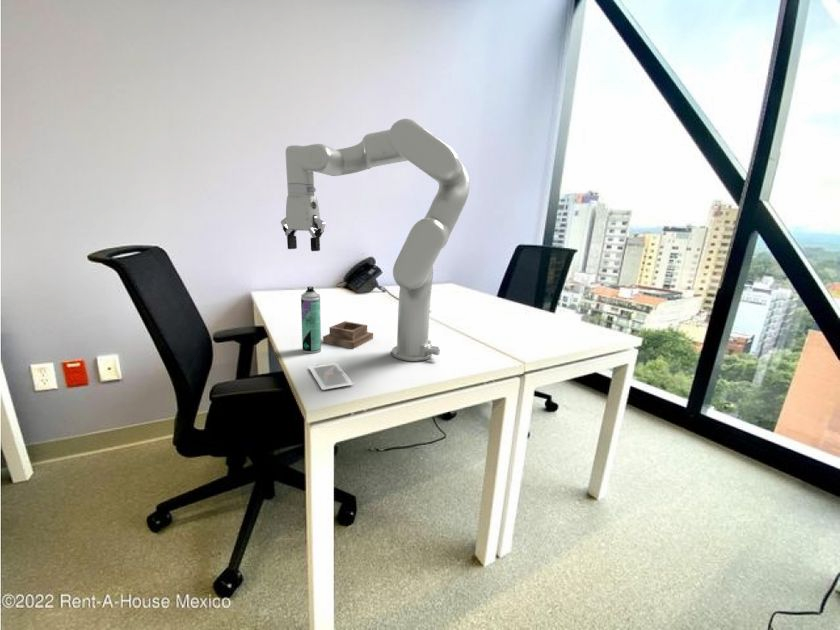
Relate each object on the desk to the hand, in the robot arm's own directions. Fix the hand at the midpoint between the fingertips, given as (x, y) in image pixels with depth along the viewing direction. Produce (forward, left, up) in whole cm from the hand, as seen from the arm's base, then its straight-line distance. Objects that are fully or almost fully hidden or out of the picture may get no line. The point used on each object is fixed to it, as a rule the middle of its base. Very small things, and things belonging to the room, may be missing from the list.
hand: (303, 249), depth 115 cm
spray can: (-6, +5, -30) cm, 31 cm away
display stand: (-11, -9, -30) cm, 33 cm away
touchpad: (-23, +19, -31) cm, 43 cm away
